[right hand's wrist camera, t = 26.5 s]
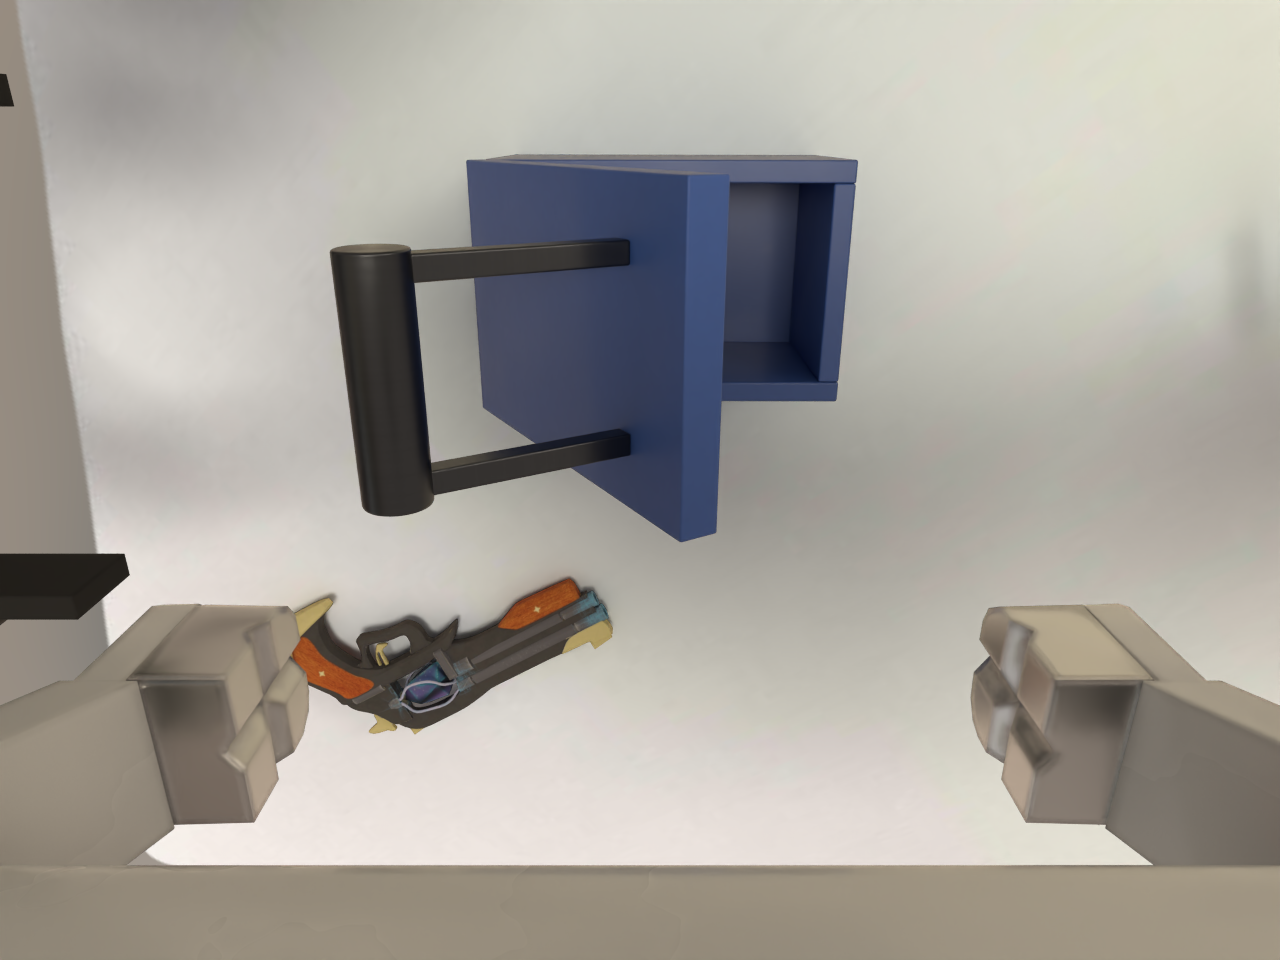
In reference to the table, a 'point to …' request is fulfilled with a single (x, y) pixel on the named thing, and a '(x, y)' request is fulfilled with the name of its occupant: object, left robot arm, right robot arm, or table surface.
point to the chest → (773, 266)
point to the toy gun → (446, 656)
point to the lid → (556, 339)
